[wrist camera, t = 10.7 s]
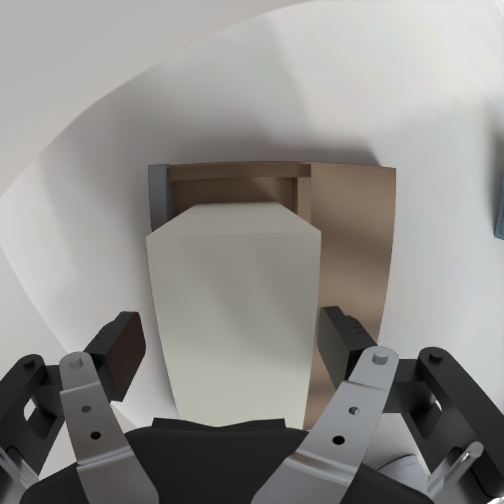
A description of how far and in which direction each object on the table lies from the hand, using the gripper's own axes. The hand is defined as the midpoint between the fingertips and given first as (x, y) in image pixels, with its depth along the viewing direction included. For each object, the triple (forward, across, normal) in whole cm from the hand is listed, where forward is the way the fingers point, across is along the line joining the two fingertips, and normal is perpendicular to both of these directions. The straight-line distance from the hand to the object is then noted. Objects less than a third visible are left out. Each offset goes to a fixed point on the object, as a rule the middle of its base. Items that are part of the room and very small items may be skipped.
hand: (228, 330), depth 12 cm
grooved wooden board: (+9, -4, +5) cm, 11 cm away
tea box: (+7, 0, 0) cm, 7 cm away
